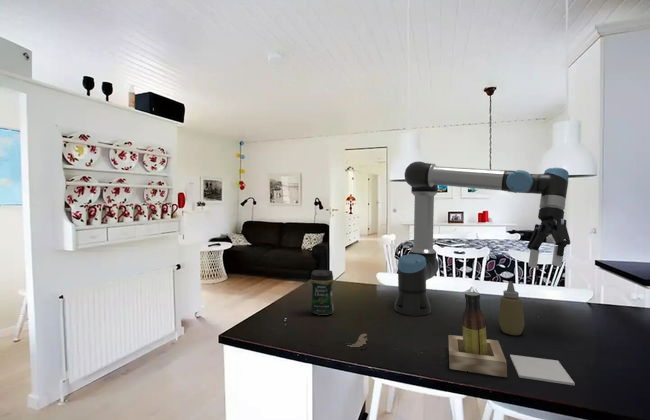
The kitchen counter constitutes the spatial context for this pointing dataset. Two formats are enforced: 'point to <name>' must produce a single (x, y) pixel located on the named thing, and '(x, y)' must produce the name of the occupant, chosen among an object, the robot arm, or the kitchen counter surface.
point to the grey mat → (541, 369)
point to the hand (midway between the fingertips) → (543, 266)
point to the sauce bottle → (474, 326)
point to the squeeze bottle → (511, 312)
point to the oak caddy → (477, 358)
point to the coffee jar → (322, 292)
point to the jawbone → (360, 341)
